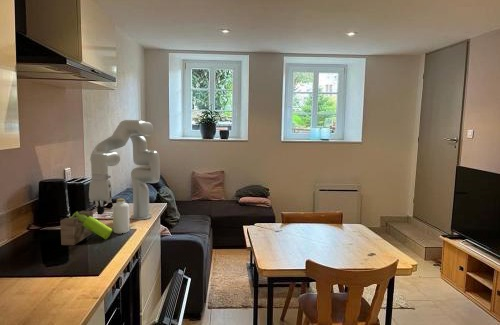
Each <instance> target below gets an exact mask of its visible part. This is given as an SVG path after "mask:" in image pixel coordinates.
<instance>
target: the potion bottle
mask: <svg viewBox="0 0 500 325" xmlns="http://www.w3.org/2000/svg"><path fill="white" fill-rule="evenodd" d="M112 226H113V227H112V229H113V231H112V232H113V233H114V234H117V235H118V234H119V235H121V234H122V233H123V234H126V233H129V231H130V205H129V203H127V202H126V199H125V198H117V199H116V202H115V203H114V204H113V205H112ZM123 234H122V235H123Z"/></svg>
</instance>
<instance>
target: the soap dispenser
mask: <svg viewBox="0 0 500 325" xmlns="http://www.w3.org/2000/svg"><path fill="white" fill-rule="evenodd" d="M78 212H79V211H78V210H77V211H75V212H74V213H72V216H70V218H77V217H78V218H79V221H81V222H83V226H84V227H86V228H87V229H89V230H91V231H92V232H93V234H96V235H97V236H99V237H100V238H102V239H104V240H107V239H109V237H110V236H111V234H112V232H113V228H111V227H110V226H109V225H106V224H105V223H103V222H101V221H100V220H98V219H96V217H94V216H93V217H92V216H89V217H87V216H85V215H83V214H82V215H80V214H78Z"/></svg>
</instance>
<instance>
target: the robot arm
mask: <svg viewBox="0 0 500 325" xmlns="http://www.w3.org/2000/svg"><path fill="white" fill-rule="evenodd" d="M154 130H155V129H154V126H153V123H151V122H150V121H144V120H141V119H140V120H139V119H125V120H121V121H120V122H119V123H118V125H117V126H116V128H115V130H114V132H113V133H112V135H111V136H109V137H107V138H106V139H104V140H101V141H100V142H98V143H97V144H96V146H95V147H94V149H93V150H92V152H91V153H90V157H89V158H90V159H89V160H90V165H91V166H90V168H91V172H90V173H91V175H90V176H91V180H90V181H89V188H88V189H89V190H88V199H89V203H92V204H94V205H95V207H96V212H97V215H103V214H104V213H105V206H106V205H107V204H109V203H112V198H113V190H112V185H111V175H109V172H108V171H109V169H108V168H109V167H115V166H117V165H118V164H119V163H120V161H121V157H120V155H119V153H118V152H116V151H114V150H117V149H121V148H123V147H125V146H126V145H127V143H128V141H129V140H131V142H132V143H131V144H132V158H133V159H132V160H133V163H134V165H137V166H138V167H135V168H133V169H132V170H131V172H130V178H131V183H132V202H133V203H132V204H133V206H132V207H133V209H132V210H133V213H132V215H131V216H130V218H131V219H132V220H138V221H140V220H141V221H143V220H149V219H151V218H152V214H151V213H150V189H149V186H148V185H147V184H156V183H159V181H160V178H161V160H160V159H161V158H160V154H159V152H158V151H157V150H153V149H148V142H147V139H146V137H147V138H148V137H151V136H152V135H153V134H154ZM139 166H140V167H139ZM141 166H143V167H141ZM145 166H148V167H145Z"/></svg>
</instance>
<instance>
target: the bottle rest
mask: <svg viewBox="0 0 500 325" xmlns="http://www.w3.org/2000/svg"><path fill="white" fill-rule="evenodd" d="M93 212H94V211H93V210H81V211H78V214H80V215H82V214H83V215H85V216H87V217H89V216H92V217H93V218H94V216H93V215H94V213H93ZM59 223H60V243H61V246H75V245H76V244H78V243H80V242H82V241H83V240H84V239H86V238H88V237H90V236H91V235H92V234H94V232H92V231H91V230H89V229H87V228H86V227H84V226H83V222H81V221H79V218H78V217H73V218H71V217H64V218H62V219H61V220H60V222H59Z"/></svg>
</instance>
